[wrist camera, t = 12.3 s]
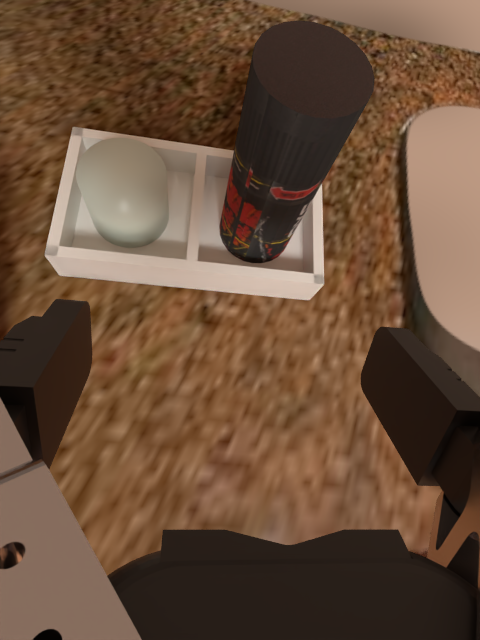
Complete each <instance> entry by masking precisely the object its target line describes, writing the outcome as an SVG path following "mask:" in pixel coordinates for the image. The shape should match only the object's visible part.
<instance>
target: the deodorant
mask: <svg viewBox="0 0 480 640" xmlns="http://www.w3.org/2000/svg"><path fill="white" fill-rule="evenodd" d="M373 88H374V75H373V70H372V66H371V64H370V62H369V61H368V59H367V57H366V55H365V54H364V52H363V51H362V50H361V49H360V48H359V47H358V46H357V45H356V43H354V42H353V41H352V40H350V39H349V38H348V37H347V36H345V35H344V34H342V33H340V32H338V31H337V30H335V29H333V28H331V27H328V26H325V25H322V24H318V23H315V22H307V21H290V22H283V23H281V24H278V25H275V26H272V27H271V28H269V29H268V30H267V31H265V32H264V33H262V35H261V36H260V38H259V39H258V40H257V42H256V43H255V47H254V51H253V55H252V60H251V65H250V71H249V76H248V81H247V86H246V91H245V97H244V102H243V107H242V112H241V117H240V122H239V128H238V133H237V138H236V143H235V148H234V153H233V159H232V164H231V169H230V174H229V179H228V184H227V190H226V195H225V200H224V205H223V210H222V216H221V221H220V226H219V229H220V237H221V239H222V242H223V244H224V245H225V247H226V248H227V250H228V251H229V252H230V253H232V254H233V255H234V256H235V257H237V258H239V259H241V260H243V261H246V262H250V263H265V262H269V261H272V260H273V259H275V258H277V257H278V256H279V255H280V254H281V253H282V252H283V251H284V250H285V248H286V246H287V244H288V243H289V241H290V239H291V237H292V236H293V234H294V232H295V230H296V228H297V227H298V225H299V223H300V221H301V220H302V218H303V216H304V214H305V212H306V211H307V209H308V207H309V205H310V204H311V202H312V200H313V198H314V197H315V195H316V193H317V191H318V189H319V188H320V186H321V184H322V182H323V181H324V179H325V177H326V175H327V173H328V172H329V170H330V168H331V166H332V165H333V163H334V161H335V159H336V157H337V156H338V154H339V152H340V150H341V149H342V147H343V145H344V143H345V142H346V140H347V138H348V136H349V134H350V133H351V131H352V129H353V127H354V126H355V124H356V122H357V120H358V118H359V117H360V115H361V113H362V111H363V110H364V108H365V106H366V104H367V102H368V101H369V99H370V96H371V94H372V92H373Z"/></svg>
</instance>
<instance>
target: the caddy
mask: <svg viewBox="0 0 480 640" xmlns="http://www.w3.org/2000/svg"><path fill="white" fill-rule="evenodd" d="M233 153H234V151H233V150H226V149H220V148H213V147H206V146H200V145H193V144H186V143H179V142H173V141H166V140H159V139H152V138H146V137H139V136H132V135H126V134H119V133H112V132H105V131H99V130H92V129H85V128H79V127H73V129H72V133H71V138H70V142H69V147H68V151H67V155H66V160H65V164H64V169H63V173H62V178H61V182H60V187H59V191H58V196H57V200H56V205H55V209H54V214H53V218H52V223H51V227H50V232H49V236H48V241H47V245H46V250H45V254H44V255H45V257H46V258H47V259H48V261H49V262H50V263H51V265H52V266H53V267H54V269H55V270H56V271H57V273H58V274H59V276H69V277H79V278H89V279H99V280H109V281H119V282H130V283H140V284H150V285H160V286H170V287H180V288H190V289H200V290H210V291H220V292H230V293H240V294H251V295H261V296H271V297H281V298H291V299H301V300H310V299H311V298H312V297H313V296H314V295H315V294H316V293H317V292H318V290H319V289H320V288H321V287H322V286H323V285H324V257H323V212H322V184H321V186H320V188H319V189H318V191H317V193H316V195H315V197H314V198H313V200H312V202H311V204H310V205H309V207H308V209H307V211H306V212H305V214H304V216H303V218H302V220H301V221H300V223H299V225H298V227H297V228H296V230H295V232H294V234H293V236H292V237H291V239H290V241H289V243H288V244H287V246H286V248H285V250H284V251H283V252H282V253H281V254H280V255H279V256H278V257H277V258H275V259H273V260H272V261H269V262H265V263H250V262H246V261H243V260H241V259H239V258H237V257H235V256H234V255H233V254H232V253H230V252H229V251H228V250H227V248H226V247H225V245H224V244H223V242H222V239H221V237H220V229H219V226H220V221H221V216H222V210H223V205H224V200H225V195H226V190H227V184H228V179H229V174H230V169H231V164H232V159H233Z"/></svg>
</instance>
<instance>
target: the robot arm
mask: <svg viewBox="0 0 480 640" xmlns="http://www.w3.org/2000/svg"><path fill="white" fill-rule="evenodd" d="M91 363H92V339H91V318H90V306H89V303H88V302H87V301H75V300H63V299H56V300H55V301H54V302H53V303H52V305H51V306H50V307H49V308H48V310H47V311H46V312H45V314H44V315H43V316H42V317H38V316H31V317H29V318H28V319H26V320H24V321H22V322H20V323H18V324H16V325H14V326H13V328H12V329H11V330H10V331H9V332H8V333H7V335H6V336H5V337H4V340H1V341H0V640H480V397H479V396H478V395H477V394H476V393H475V392H474V391H473V390H472V389H471V388H470V387H469V386H468V385H467V384H466V383H465V382H464V381H461V378H460V377H459V376H458V375H457V374H456V373H455V372H454V371H452V369H451V368H450V367H449V366H448V365H447V364H446V363H445V362H444V360H443V359H442V358H441V357H439V356H438V355H436V354H434V353H433V352H431V351H430V350H428V349H427V348H426V347H425V346H424V345H423V343H422V342H421V341H420V340H419V339H418V338H417V337H416V336H415V335H414V334H413V333H412V332H411V331H410V330H408V329H403V328H391V327H380V328H379V329H378V330H377V331H376V333H375V335H374V338H373V341H372V344H371V347H370V349H369V352H368V355H367V358H366V361H365V364H364V366H363V369H362V373H361V387H362V390H363V393H364V394H365V396H366V398H367V400H368V401H369V403H370V405H371V406H372V408H373V410H374V412H375V413H376V415H377V417H378V418H379V420H380V422H381V424H382V425H383V427H384V429H385V430H386V432H387V434H388V436H389V437H390V439H391V441H392V442H393V444H394V446H395V448H396V449H397V451H398V453H399V454H400V456H401V458H402V460H403V461H404V463H405V465H406V466H407V468H408V470H409V472H410V473H411V475H412V477H413V478H414V480H415V482H416V484H417V485H419V486H440V487H441V489H442V492H441V493H440V495H439V497H438V499H437V502H436V507H435V513H434V519H433V525H432V531H431V537H430V543H429V548H428V554H427V558H426V557H423V556H421V555H418V554H415V553H413V552H410V551H408V549H407V547H406V545H405V543H404V541H403V539H402V537H401V535H400V533H399V531H398V530H342V531H338V532H335V533H332V534H328V535H325V536H322V537H318V538H315V539H312V540H308V541H305V542H302V543H298V544H295V545H283V544H279V543H275V542H271V541H267V540H263V539H259V538H255V537H251V536H247V535H244V534H240V533H236V532H232V531H228V530H163V535H162V547H161V551H158V552H154V553H151V554H148V555H145V556H143V557H140V558H138V559H136V560H133V561H131V562H129V563H127V564H126V565H124V566H122V567H120V568H118V569H117V570H115V571H114V572H112V573H111V574H109V575H108V576H107V575H106V573H105V571H104V570H103V568H102V566H101V564H100V562H99V561H98V559H97V557H96V555H95V553H94V551H93V550H92V548H91V546H90V544H89V542H88V540H87V539H86V537H85V535H84V533H83V531H82V529H81V528H80V526H79V524H78V522H77V520H76V518H75V517H74V515H73V513H72V511H71V509H70V507H69V506H68V504H67V502H66V500H65V498H64V496H63V495H62V493H61V491H60V489H59V487H58V486H57V484H56V482H55V480H54V478H53V476H52V475H51V473H50V471H49V468H50V466H51V464H52V461H53V459H54V457H55V454H56V452H57V449H58V447H59V445H60V442H61V440H62V438H63V435H64V433H65V431H66V428H67V426H68V424H69V421H70V419H71V416H72V414H73V412H74V409H75V407H76V405H77V402H78V400H79V398H80V395H81V393H82V390H83V388H84V386H85V383H86V381H87V379H88V376H89V373H90V369H91Z"/></svg>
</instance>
